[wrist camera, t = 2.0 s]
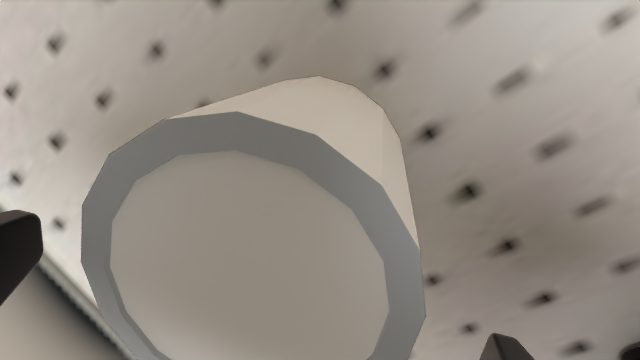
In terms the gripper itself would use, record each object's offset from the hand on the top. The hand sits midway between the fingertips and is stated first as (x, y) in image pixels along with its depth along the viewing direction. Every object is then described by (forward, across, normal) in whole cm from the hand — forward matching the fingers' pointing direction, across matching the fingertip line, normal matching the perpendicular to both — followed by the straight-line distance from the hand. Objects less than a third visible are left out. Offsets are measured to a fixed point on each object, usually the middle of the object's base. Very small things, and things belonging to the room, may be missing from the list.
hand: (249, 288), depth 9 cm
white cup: (+7, 0, 0) cm, 7 cm away
